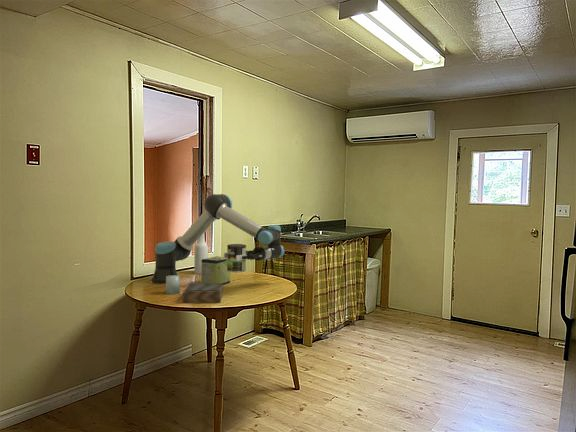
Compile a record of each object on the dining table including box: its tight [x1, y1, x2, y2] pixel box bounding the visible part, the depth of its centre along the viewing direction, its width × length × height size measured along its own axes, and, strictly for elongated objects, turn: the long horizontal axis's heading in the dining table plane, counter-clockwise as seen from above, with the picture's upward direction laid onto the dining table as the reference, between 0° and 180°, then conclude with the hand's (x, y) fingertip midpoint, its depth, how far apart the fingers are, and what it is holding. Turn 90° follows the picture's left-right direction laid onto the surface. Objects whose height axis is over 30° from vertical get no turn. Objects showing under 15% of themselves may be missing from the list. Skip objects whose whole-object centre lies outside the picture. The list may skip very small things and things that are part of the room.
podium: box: [182, 282, 224, 304], centre depth 218 cm, size 18×18×6 cm
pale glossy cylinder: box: [165, 274, 181, 295], centre depth 229 cm, size 7×7×9 cm
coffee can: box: [226, 243, 247, 274], centre depth 232 cm, size 10×10×14 cm
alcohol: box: [193, 232, 209, 275], centre depth 285 cm, size 9×9×30 cm
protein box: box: [200, 255, 231, 286], centre depth 252 cm, size 10×16×16 cm
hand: (230, 256), depth 229 cm, fingers closed on coffee can, 10 cm apart
